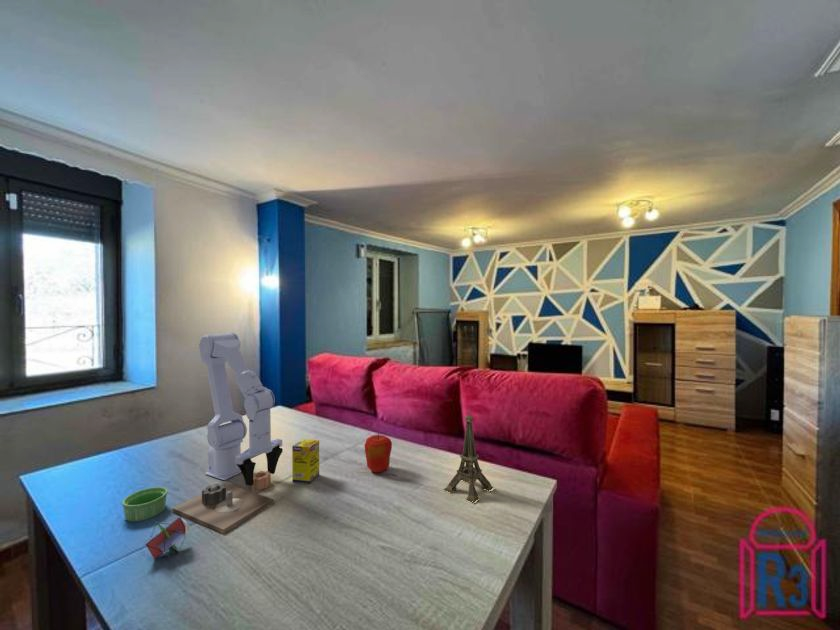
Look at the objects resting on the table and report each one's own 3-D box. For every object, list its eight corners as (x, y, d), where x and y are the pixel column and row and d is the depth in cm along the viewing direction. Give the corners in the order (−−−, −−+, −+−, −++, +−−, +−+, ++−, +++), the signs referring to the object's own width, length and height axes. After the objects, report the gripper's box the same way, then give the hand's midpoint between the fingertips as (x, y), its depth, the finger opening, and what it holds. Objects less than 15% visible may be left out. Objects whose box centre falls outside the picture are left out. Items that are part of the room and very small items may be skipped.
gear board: (172, 511, 88) (172, 494, 88) (224, 486, 100) (224, 471, 100) (223, 533, 79) (223, 514, 79) (273, 502, 92) (273, 486, 91)
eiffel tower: (443, 490, 98) (443, 403, 97) (465, 477, 105) (464, 396, 105) (474, 504, 91) (474, 410, 90) (495, 489, 98) (495, 402, 98)
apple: (359, 473, 108) (359, 436, 108) (373, 462, 116) (373, 427, 116) (384, 478, 105) (383, 439, 105) (396, 466, 112) (396, 430, 112)
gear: (246, 487, 100) (246, 477, 100) (262, 479, 104) (261, 469, 104) (259, 491, 97) (259, 481, 97) (274, 483, 102) (274, 473, 102)
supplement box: (310, 484, 101) (309, 447, 101) (291, 482, 103) (291, 445, 103) (320, 474, 107) (319, 439, 107) (302, 472, 109) (302, 438, 108)
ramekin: (117, 527, 82) (117, 509, 81) (128, 508, 90) (128, 491, 89) (164, 517, 86) (163, 499, 86) (170, 499, 94) (170, 483, 94)
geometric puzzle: (144, 564, 67) (172, 518, 71) (130, 551, 70) (157, 508, 74) (178, 567, 72) (202, 524, 76) (163, 555, 75) (187, 515, 79)
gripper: (247, 443, 92) (248, 493, 92) (289, 426, 105) (289, 470, 106) (230, 439, 95) (230, 488, 96) (272, 423, 108) (273, 466, 109)
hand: (260, 478), depth 101 cm, fingers open, 7 cm apart
